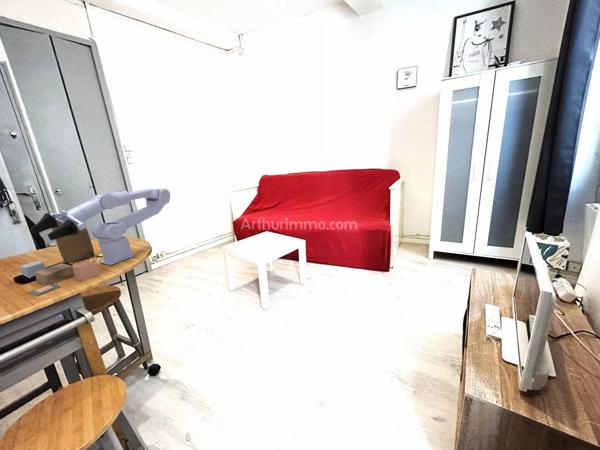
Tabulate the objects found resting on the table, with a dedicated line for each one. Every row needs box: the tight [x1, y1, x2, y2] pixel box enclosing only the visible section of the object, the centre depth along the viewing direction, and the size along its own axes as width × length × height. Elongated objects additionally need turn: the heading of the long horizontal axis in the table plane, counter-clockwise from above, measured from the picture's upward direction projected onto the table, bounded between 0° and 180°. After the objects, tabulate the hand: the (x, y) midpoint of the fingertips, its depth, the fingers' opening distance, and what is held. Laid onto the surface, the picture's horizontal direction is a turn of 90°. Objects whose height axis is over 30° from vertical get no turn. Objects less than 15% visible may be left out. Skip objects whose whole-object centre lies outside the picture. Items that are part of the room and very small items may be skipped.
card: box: [28, 283, 61, 297], centre depth 87 cm, size 6×6×1 cm
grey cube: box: [19, 260, 46, 278], centre depth 97 cm, size 5×5×5 cm
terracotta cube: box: [71, 260, 100, 282], centre depth 94 cm, size 5×5×5 cm
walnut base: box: [34, 262, 75, 286], centre depth 94 cm, size 8×8×4 cm
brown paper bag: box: [51, 221, 95, 263], centre depth 111 cm, size 11×8×20 cm
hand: (40, 234), depth 86 cm, fingers open, 7 cm apart
